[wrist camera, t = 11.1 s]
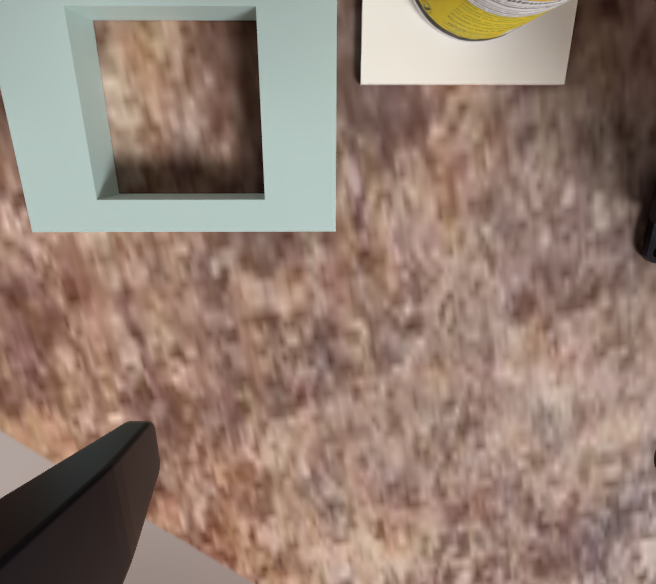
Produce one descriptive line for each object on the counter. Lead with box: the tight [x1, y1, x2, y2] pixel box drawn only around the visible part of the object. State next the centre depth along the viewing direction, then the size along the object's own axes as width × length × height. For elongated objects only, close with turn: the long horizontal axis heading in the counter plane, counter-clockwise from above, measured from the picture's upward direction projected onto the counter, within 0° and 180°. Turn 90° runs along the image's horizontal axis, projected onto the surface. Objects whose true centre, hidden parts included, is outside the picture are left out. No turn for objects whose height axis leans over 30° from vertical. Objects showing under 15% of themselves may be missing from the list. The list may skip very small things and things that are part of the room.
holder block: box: [0, 0, 337, 232], centre depth 17 cm, size 12×9×2 cm
